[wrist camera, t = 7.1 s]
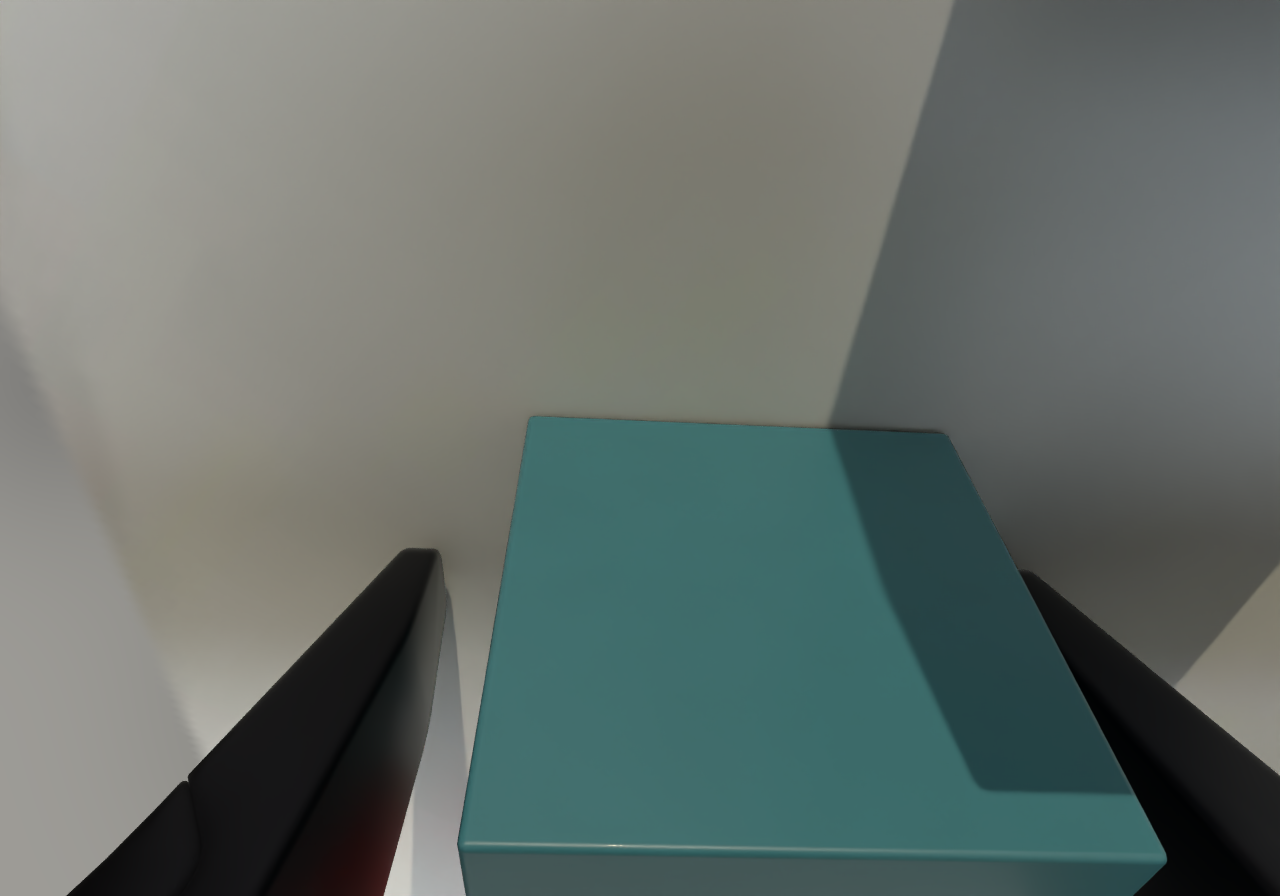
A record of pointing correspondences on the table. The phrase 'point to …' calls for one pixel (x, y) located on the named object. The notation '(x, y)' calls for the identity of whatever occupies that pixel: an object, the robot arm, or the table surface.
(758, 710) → the teal cube
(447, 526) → the table surface
